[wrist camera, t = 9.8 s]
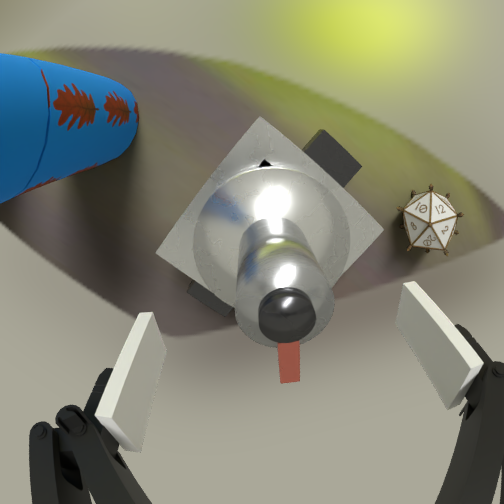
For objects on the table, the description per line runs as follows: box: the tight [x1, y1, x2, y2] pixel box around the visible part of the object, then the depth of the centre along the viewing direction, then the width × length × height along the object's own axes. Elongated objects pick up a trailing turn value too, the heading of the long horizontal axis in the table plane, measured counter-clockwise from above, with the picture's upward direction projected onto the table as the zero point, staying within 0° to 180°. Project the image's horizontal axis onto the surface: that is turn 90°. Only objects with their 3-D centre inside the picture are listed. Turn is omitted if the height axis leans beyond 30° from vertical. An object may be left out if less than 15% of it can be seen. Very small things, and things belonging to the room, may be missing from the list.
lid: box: [193, 166, 350, 383], centre depth 21 cm, size 13×13×14 cm
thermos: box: [0, 53, 139, 204], centre depth 17 cm, size 11×11×25 cm
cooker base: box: [156, 117, 384, 317], centre depth 29 cm, size 15×21×9 cm
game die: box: [396, 184, 464, 256], centre depth 30 cm, size 9×8×10 cm
